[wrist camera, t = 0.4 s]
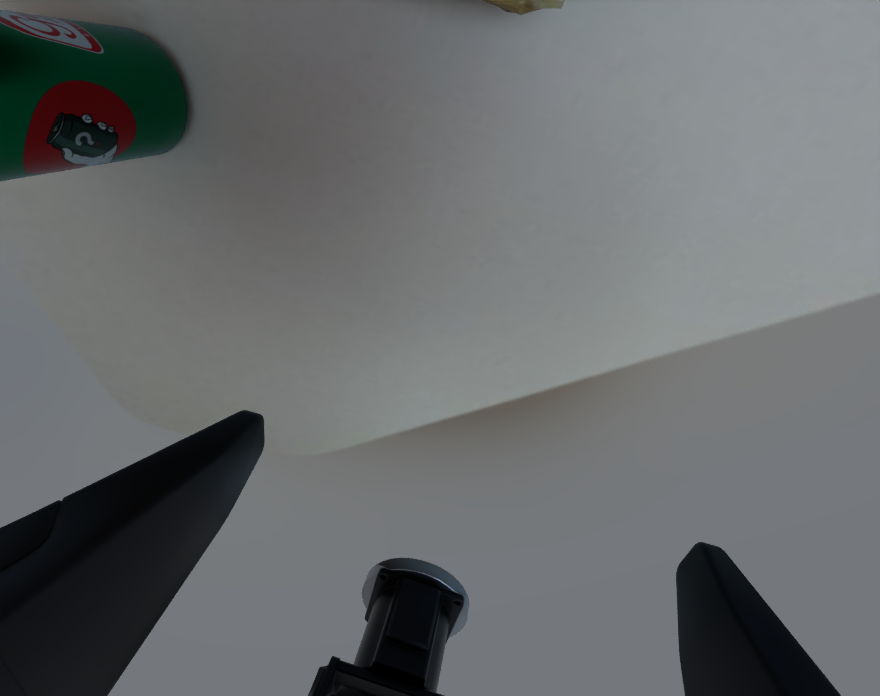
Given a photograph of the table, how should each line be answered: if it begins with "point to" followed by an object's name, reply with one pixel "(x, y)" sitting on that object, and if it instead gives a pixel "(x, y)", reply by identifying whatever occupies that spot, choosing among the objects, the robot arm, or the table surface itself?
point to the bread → (525, 5)
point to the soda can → (82, 95)
